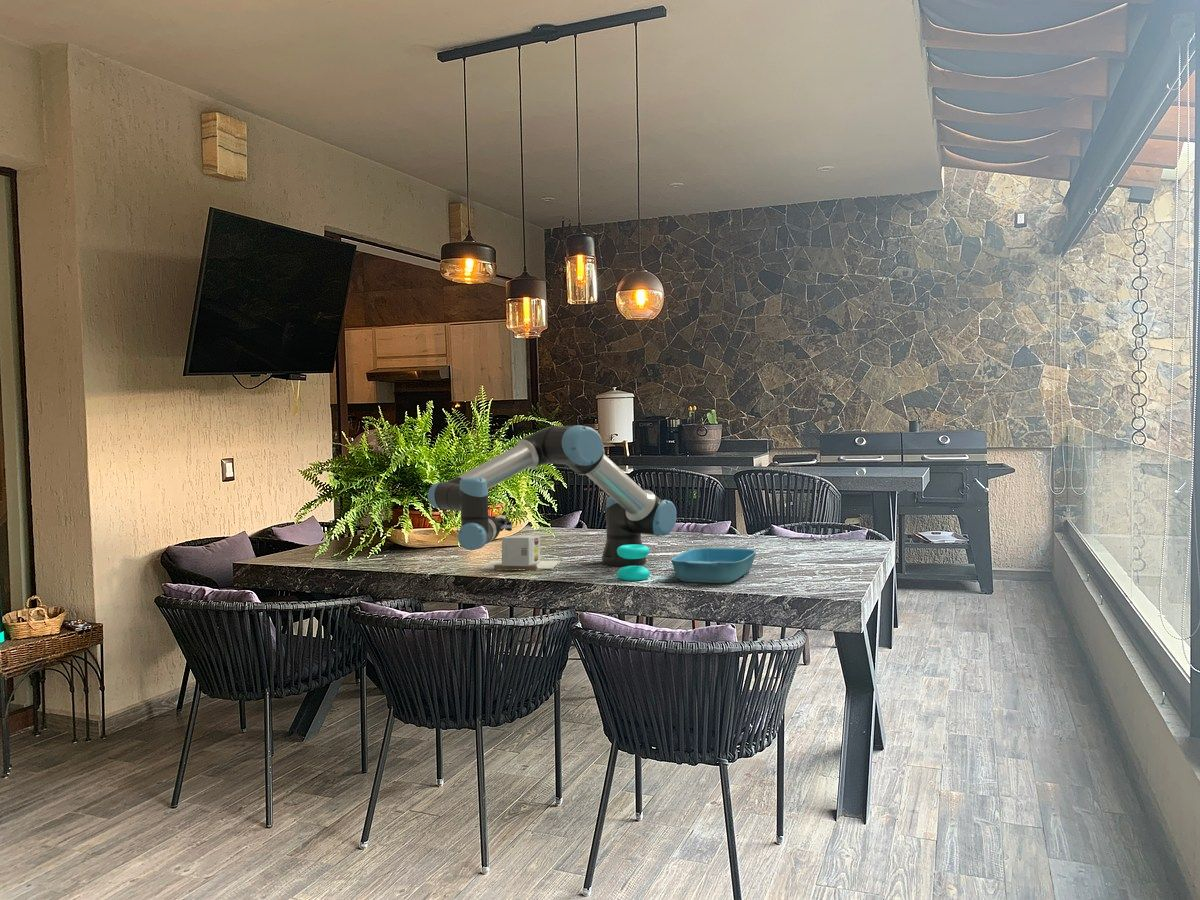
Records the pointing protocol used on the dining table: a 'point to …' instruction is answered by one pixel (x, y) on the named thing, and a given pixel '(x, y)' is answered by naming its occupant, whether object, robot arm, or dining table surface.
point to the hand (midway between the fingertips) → (503, 519)
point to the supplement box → (520, 550)
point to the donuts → (633, 571)
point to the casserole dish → (713, 564)
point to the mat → (532, 567)
